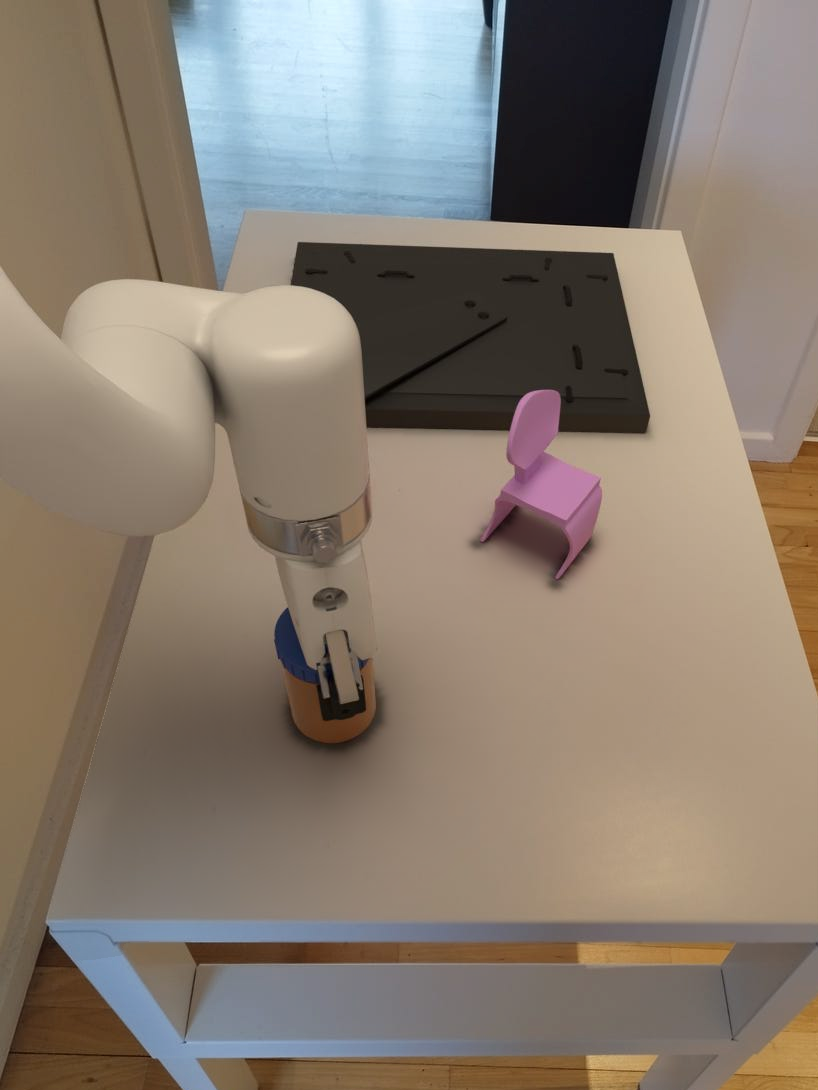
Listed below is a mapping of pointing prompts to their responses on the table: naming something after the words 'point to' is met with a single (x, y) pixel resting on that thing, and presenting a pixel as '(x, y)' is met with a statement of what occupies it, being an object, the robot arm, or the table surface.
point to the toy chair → (546, 476)
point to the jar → (309, 711)
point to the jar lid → (297, 651)
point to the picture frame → (483, 333)
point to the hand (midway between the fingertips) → (332, 669)
